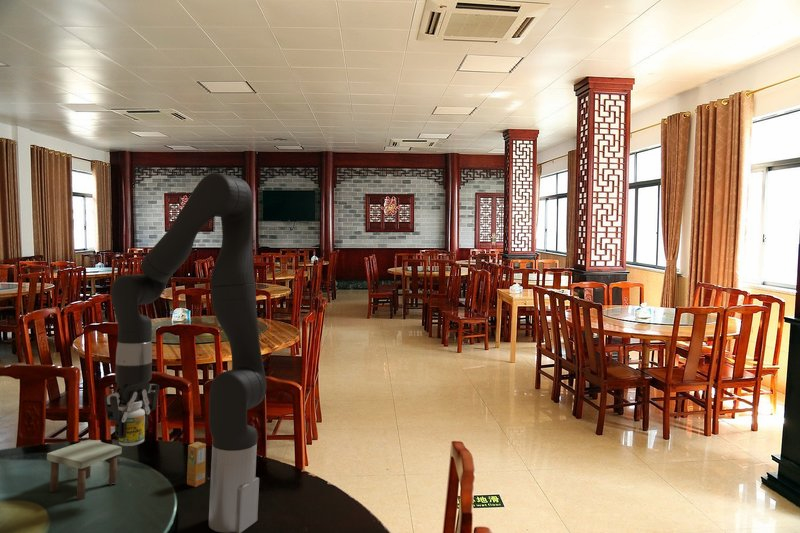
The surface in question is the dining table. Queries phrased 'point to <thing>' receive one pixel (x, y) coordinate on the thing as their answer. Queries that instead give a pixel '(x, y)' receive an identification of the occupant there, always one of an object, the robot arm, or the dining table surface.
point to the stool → (83, 462)
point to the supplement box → (196, 464)
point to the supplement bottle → (134, 426)
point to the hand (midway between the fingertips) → (131, 433)
